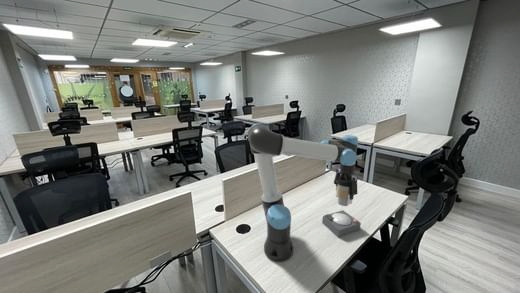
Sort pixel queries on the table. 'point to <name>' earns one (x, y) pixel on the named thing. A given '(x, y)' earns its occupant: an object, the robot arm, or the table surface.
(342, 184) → the coffee cup
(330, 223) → the grey dome button box
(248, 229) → the table surface
